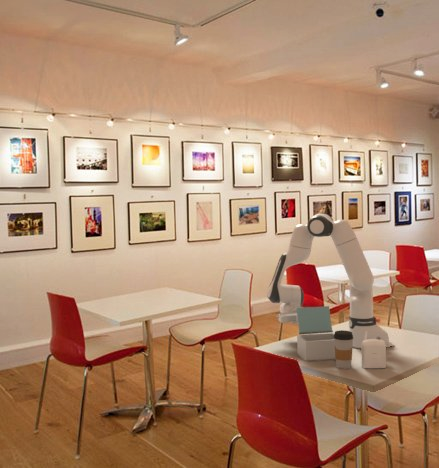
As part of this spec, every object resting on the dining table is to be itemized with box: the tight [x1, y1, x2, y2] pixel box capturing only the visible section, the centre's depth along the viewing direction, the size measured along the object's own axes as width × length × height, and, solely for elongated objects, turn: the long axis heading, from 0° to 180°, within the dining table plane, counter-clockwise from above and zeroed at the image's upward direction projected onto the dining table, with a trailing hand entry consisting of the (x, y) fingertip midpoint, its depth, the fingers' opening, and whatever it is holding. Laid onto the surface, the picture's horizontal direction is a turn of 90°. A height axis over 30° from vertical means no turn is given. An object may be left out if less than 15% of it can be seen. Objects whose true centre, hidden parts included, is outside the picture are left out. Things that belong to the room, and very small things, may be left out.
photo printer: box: [360, 339, 387, 369], centre depth 229 cm, size 10×4×12 cm, turn 86°
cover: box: [296, 305, 334, 335], centre depth 253 cm, size 16×12×1 cm
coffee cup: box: [334, 330, 354, 370], centre depth 231 cm, size 8×8×15 cm
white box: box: [296, 332, 336, 362], centre depth 247 cm, size 18×12×9 cm
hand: (303, 320), depth 255 cm, fingers closed
